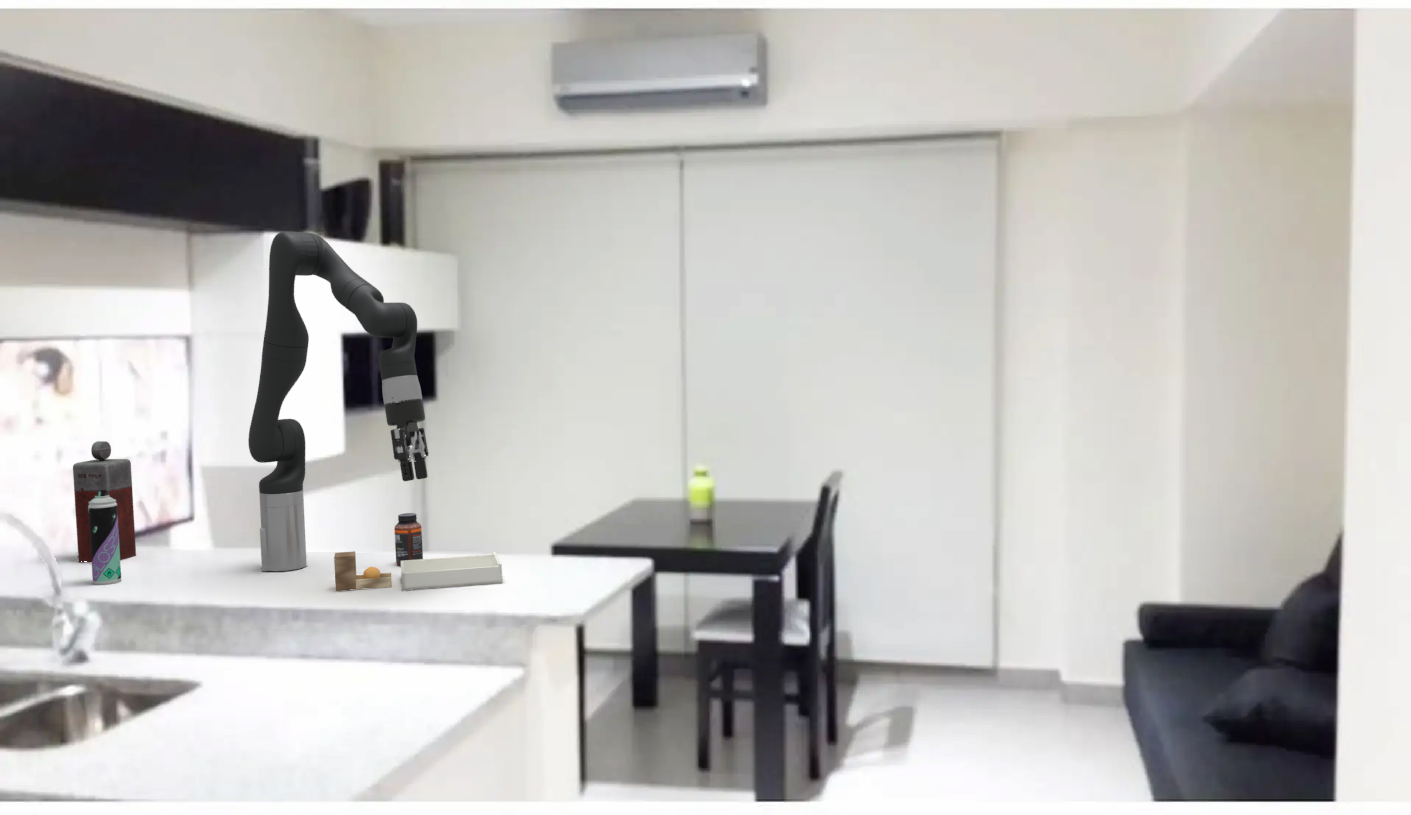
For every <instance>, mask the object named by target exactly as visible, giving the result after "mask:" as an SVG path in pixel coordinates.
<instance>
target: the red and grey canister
mask: <svg viewBox="0 0 1411 815" xmlns="http://www.w3.org/2000/svg"><path fill="white" fill-rule="evenodd" d="M90 451H91V455H92V457H93V458H94V459H92V460H85V461H81V462H79V461H78V462H76V463H74V464H73V466H72V473H73V474H72V476H73V477H72V479H73V492H74V508H75V509H74V510H75V524H76V540H77V544H76V545H77V557H78V558H77V559H78V563H84V561H87V562H92V560H91V544H90V527H89V511H88V505H89V501H91V500H92V499H94V498H95V496H96V494H97V490H106V492H107V494H108V495H109V497H111V498H113V499H115V500H116V503H117V515H118V532H119V549H120V561H123V560H126V559H130V558H133V557H136V556H137V548H136V547H137V546H136V529H135V514H134V513H135V512H134V496H133V494H134V493H133V482H132V481H133V480H132V463H131V461H130V459H127V458H110V456H111V454H112V447H111V443H109V442H108V441H106V440H105V441H104V440H103V441H101V440H100V441H99V440H98V441H95V442H93V444H92V445H91V450H90ZM81 561H82V562H81Z"/></svg>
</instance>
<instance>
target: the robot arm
mask: <svg viewBox="0 0 1411 815" xmlns="http://www.w3.org/2000/svg"><path fill="white" fill-rule="evenodd" d="M269 250H270V251H269V260H268V261H269V262H268V263H269V264H268V300H267V312H266V320H265V321H266V322H265V329H264V334H263V343H262V349H261V350H262V352H261V363H260V371H259V372H260V373H259V380H258V386H257V394H256V399H255V403H254V406H253V407H254V408H253V411H252V417H251V421H250V426H249V432H248V441H247V442H248V449H249V453H250V456H251V457H252V459H253V460H254V461H255V462H257V463H261V464H262V463H264V464H265V463H273V462H274V463H275V462H276V466H275V468H274V469H273V470H272V471H271V472H270V473H269V474H267V475H266V476H264V477H262V478H261V479H259V482H258V492H259V512H260V513H259V514H260V515H259V516H260V528H259V537H260V540H259V541H260V558H261V572H283V571H284V572H287V571H293V570H300V569H303V568H305V567H307V566H308V565H307V546H306V543H307V542H306V526H305V522H306V521H305V502H304V499H305V498H304V481H305V477H306V436H305V432H304V429H303V427H302V425H301V423H300V421H298V420H296V419H295V418H294V419H293V418H283V419H282V418H281V419H279V417H280V413H281V409H282V406H283V403H284V401H285V399H286V397H287V396H288V394H290V391H291V390H292V389H293V387H294V385H295V384H296V383H297V381H298V380H299V378H300V377H301V375H302V374H303V372H304V370H305V367H306V363H307V357H308V349H309V341H310V340H309V339H310V338H309V333H308V332H309V331H308V328H307V326H306V324H305V321H304V319H303V318H302V315H301V314H300V311H299V309H298V307H297V303H296V301H295V300H296V299H295V281H296V276H316V277H318V278H321V279H324V280H325V281H327V282H328V283H329V284H330V290H331V293H332V296H333V297H334V298H335V299H336V301H337V302H338V303H339V304H340V305H341V306H343V308H345V309H347V310H348V311H349V312H351V314H353V315H354V316H355V317H356V319H357V321H358V322H359V324H360V325H361V327H362V328H363V330H364V331H365V332H366V333H367V334H369V335H370V336H373V337H376V338H379V339H380V338H392V339H393V340H392V344H391V348H388V349H385V350H383V351H381V352H380V353H379V355H378V364H379V365H378V366H379V371H380V372H379V373H380V378H381V383H382V385H381V388H382V389H381V390H382V393H381V394H382V398H383V407H384V412H385V418H386V423H387V425H388V427H394V426H396V428H394V429H391V430H390V437H391V443H392V451H393V458H394V460H397V462H398V464H399V466H400V472H401V473H400V474H401V480H402V481H403V482H409V481H410V482H411V481H414V480H415V478H416V479H417V480H422V479H423V480H424V479H427V478H428V470H427V463H426V460H427V457H429V449H428V444H427V438H426V437H427V436H426V433H425V428H424V427H420V428H419V426H418V423H421V422H424V421H425V420H426V415H425V408H424V402H423V394H422V388H421V385H420V381H419V377H418V373H417V366H416V360H415V352H416V343H417V342H416V341H417V332H418V319H417V314H416V312H415V310H414V309H413V307H412V305H410V304H408V303H406V302H384V301H385V299H384V296H383V294H382V292H381V291H380V290H379V289H378V288H376V286H374V285H372V284H371V283H370V282H368V281H367V280H366V279H365V278H363V277H362V276H361V275H359V274H358V273H357V272H355V271H354V270H353V269H352V268H351V267H350V266H349V264H347V263H346V262H345V261H344V259H343V258H342V257H341V256H340V255H339V254H338V253H337V252H336V251H335V250H334V248H333V247H332V246H331V245H330V244H329V243H328V241H326V240H325V239H324V238H323V237H321V235H319V234H316V233H313V232H302V231H301V232H300V231H280V232H278V233H277V234H276V235H275V236H274V237H273V239H272V241H271V245H270V249H269ZM412 460H413V461H412ZM413 466H414V467H413ZM414 473H415V474H414Z"/></svg>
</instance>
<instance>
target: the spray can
mask: <svg viewBox="0 0 1411 815" xmlns="http://www.w3.org/2000/svg"><path fill="white" fill-rule="evenodd" d="M88 511H89V527H90V544H91V560H92V563H91V571H92V572H91V573H92V574H91V575H92V584H93V585H94V584H95V585H94V586H104V585H105V586H106V585H113V584H118V583H121V581H122V568H121V560H120V549H119V532H118V515H117V503H116V500H115V499H113V498H111V497H109V495H108V494H107V492H106V490H97V494H96V496H95V498H94V499H92V500H91V501H89V505H88Z"/></svg>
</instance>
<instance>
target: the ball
mask: <svg viewBox="0 0 1411 815" xmlns="http://www.w3.org/2000/svg"><path fill="white" fill-rule="evenodd" d="M380 573H381V570H380V569H379V568H378V567H376V566H369V567H366V569H365V570H364V572H363V574H362V575H363V576H364V579H371V578H380V576H381V574H380Z"/></svg>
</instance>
